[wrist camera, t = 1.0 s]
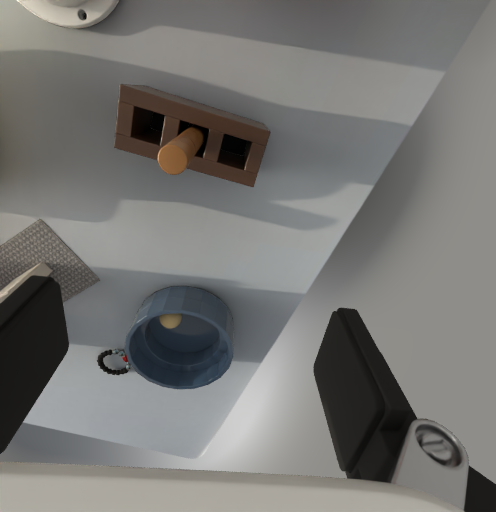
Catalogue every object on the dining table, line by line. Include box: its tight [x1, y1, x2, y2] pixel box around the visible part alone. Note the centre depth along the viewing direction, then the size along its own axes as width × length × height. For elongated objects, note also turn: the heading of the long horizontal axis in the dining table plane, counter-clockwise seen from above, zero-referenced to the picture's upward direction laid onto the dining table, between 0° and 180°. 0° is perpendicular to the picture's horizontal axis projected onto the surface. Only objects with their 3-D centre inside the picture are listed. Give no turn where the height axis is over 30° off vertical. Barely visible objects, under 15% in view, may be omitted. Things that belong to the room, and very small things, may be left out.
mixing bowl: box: [125, 286, 234, 389], centre depth 47 cm, size 15×15×6 cm
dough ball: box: [160, 313, 182, 328], centre depth 47 cm, size 3×3×3 cm
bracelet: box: [97, 349, 131, 375], centre depth 53 cm, size 6×6×1 cm
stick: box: [158, 124, 209, 175], centre depth 29 cm, size 2×2×18 cm
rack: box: [114, 84, 270, 187], centre depth 33 cm, size 6×14×8 cm, turn 74°
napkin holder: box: [0, 262, 53, 303], centre depth 42 cm, size 3×7×7 cm, turn 121°
